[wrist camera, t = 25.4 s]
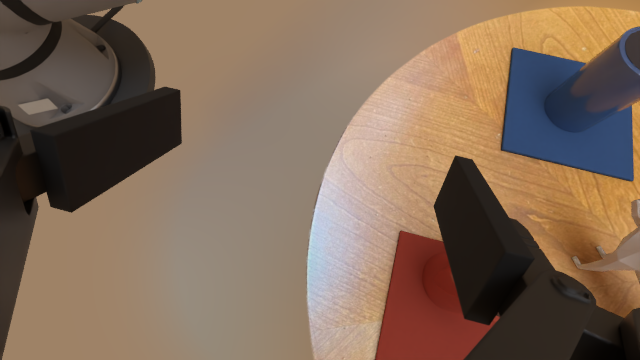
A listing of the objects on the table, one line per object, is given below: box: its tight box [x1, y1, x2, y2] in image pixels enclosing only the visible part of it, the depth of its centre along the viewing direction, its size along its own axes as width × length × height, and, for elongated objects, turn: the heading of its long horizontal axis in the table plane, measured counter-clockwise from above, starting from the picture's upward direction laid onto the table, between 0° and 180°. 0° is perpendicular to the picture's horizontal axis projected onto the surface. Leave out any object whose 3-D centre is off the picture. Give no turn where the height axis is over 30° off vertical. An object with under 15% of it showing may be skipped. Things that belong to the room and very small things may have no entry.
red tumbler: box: [422, 250, 500, 323], centre depth 30 cm, size 7×7×11 cm
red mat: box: [375, 231, 495, 360], centre depth 34 cm, size 18×13×1 cm
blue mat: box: [501, 48, 634, 181], centre depth 42 cm, size 16×16×1 cm
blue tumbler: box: [545, 27, 640, 132], centre depth 37 cm, size 7×7×11 cm
